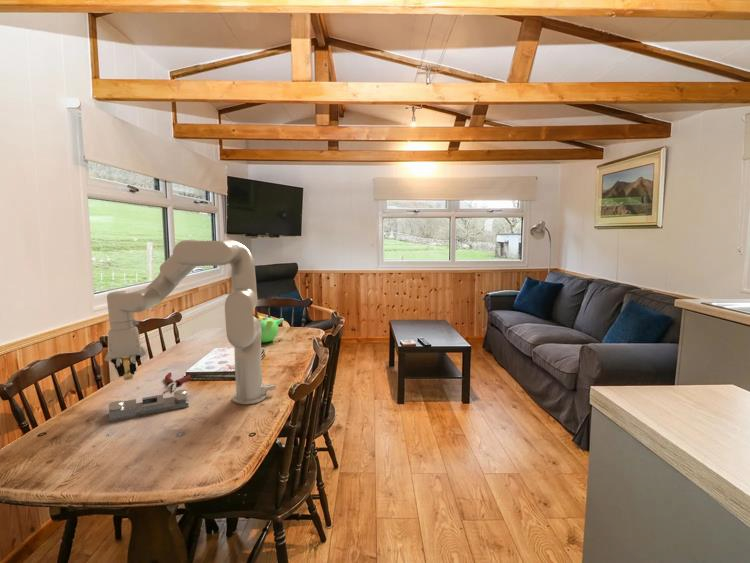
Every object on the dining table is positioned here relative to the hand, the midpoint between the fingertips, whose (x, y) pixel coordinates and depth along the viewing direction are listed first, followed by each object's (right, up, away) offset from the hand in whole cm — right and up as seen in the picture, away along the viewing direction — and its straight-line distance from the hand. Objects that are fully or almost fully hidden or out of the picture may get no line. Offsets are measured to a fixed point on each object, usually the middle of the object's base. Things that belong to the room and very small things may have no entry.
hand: (127, 374), depth 152 cm
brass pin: (0, -2, 0) cm, 2 cm away
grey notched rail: (+11, -12, -5) cm, 17 cm away
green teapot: (+29, 0, +82) cm, 87 cm away
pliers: (+7, -9, +20) cm, 23 cm away
